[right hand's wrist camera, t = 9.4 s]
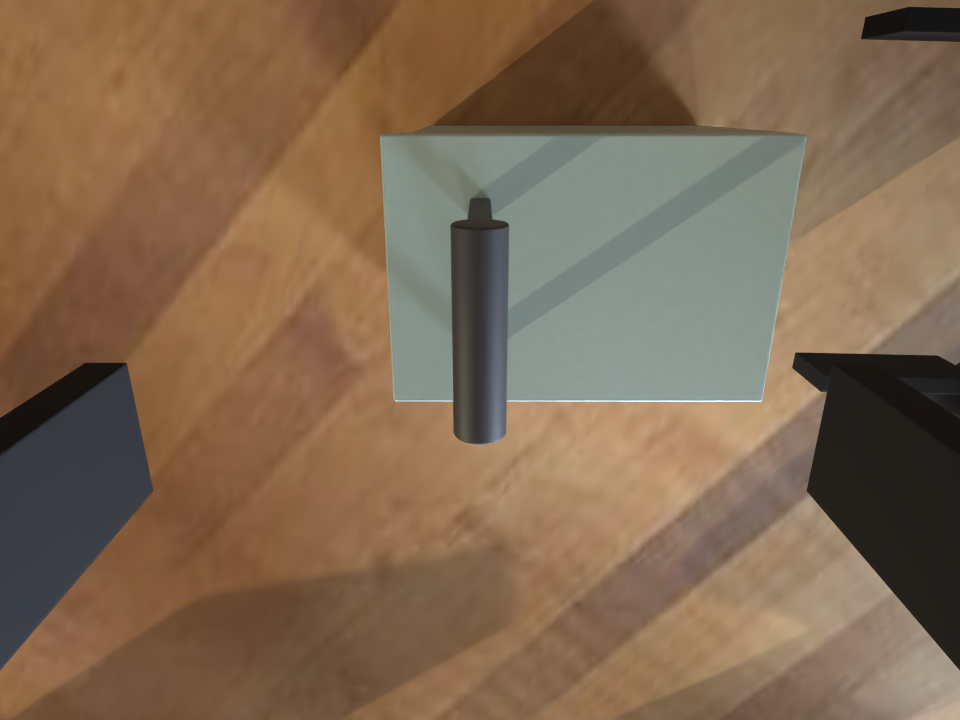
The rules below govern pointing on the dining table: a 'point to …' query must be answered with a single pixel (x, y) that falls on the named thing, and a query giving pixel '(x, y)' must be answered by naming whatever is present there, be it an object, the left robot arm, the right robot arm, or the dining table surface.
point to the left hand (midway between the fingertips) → (840, 213)
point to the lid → (583, 266)
